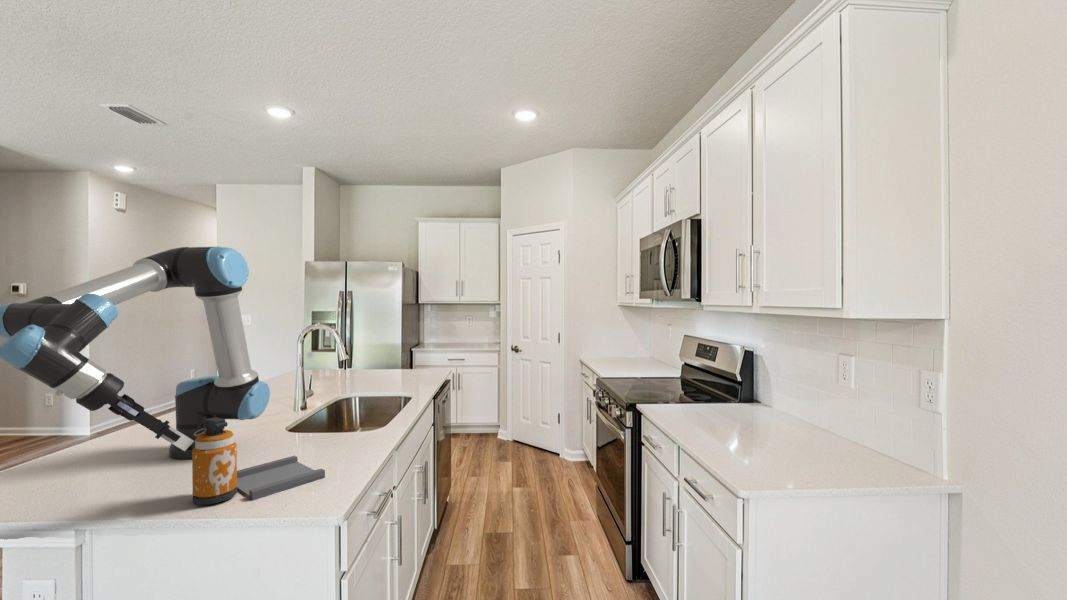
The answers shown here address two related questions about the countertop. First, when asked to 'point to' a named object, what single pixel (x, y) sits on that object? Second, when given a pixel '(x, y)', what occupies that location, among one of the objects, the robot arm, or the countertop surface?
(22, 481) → the countertop surface
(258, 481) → the tray
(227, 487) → the canister
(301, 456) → the countertop surface
